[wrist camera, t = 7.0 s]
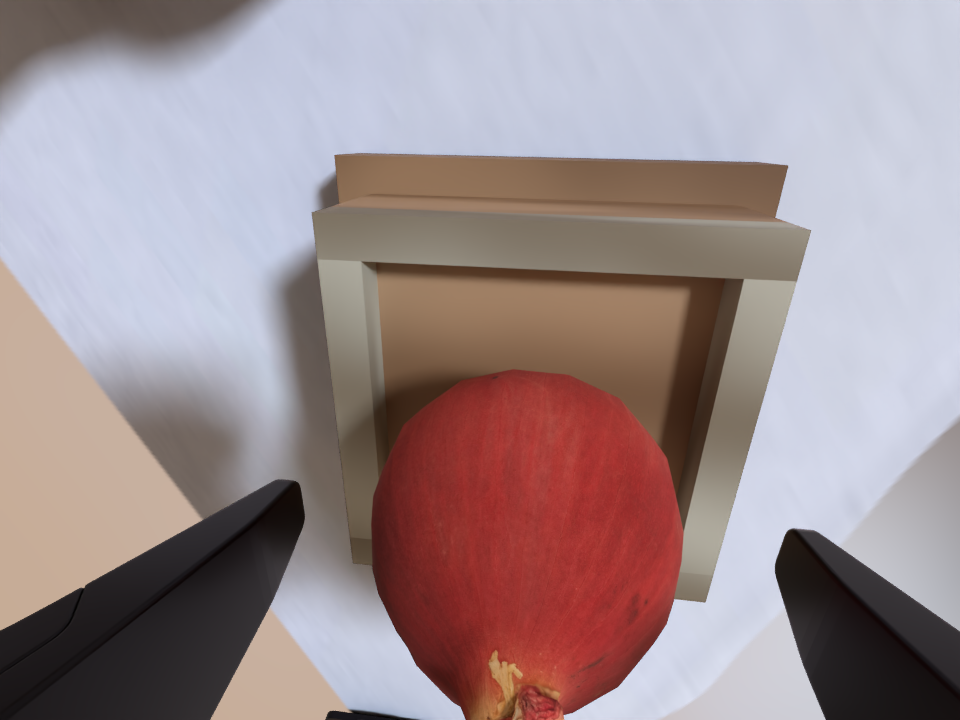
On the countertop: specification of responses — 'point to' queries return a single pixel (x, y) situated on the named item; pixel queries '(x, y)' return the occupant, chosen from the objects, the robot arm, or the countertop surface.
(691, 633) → the countertop surface
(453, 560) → the onion
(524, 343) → the wooden tray on base
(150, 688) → the robot arm
